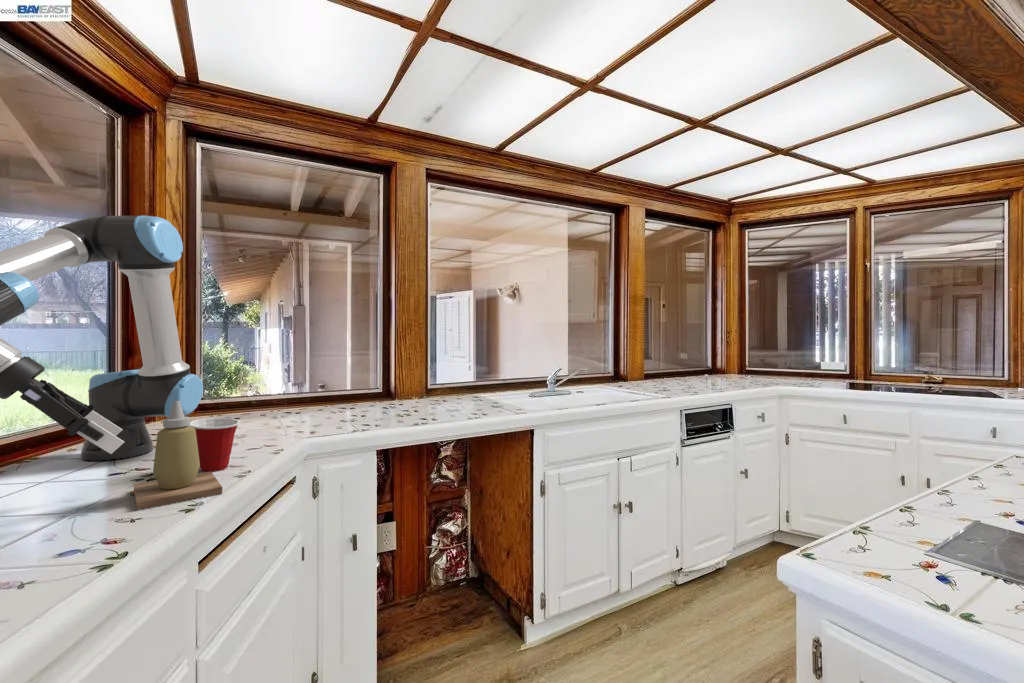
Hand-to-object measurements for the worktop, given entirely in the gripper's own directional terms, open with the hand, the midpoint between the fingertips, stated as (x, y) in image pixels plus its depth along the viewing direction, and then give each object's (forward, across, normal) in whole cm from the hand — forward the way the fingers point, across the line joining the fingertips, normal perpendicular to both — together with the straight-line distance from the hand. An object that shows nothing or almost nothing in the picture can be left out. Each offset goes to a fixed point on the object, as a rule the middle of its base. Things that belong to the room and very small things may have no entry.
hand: (117, 441), depth 91 cm
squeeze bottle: (+15, 0, -1) cm, 15 cm away
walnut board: (+16, 0, -2) cm, 16 cm away
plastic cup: (+22, -15, +4) cm, 27 cm away
